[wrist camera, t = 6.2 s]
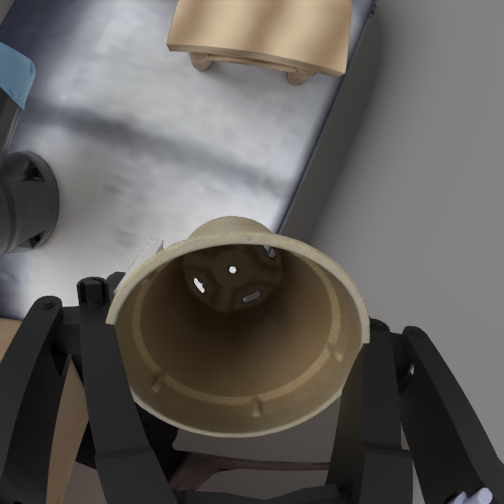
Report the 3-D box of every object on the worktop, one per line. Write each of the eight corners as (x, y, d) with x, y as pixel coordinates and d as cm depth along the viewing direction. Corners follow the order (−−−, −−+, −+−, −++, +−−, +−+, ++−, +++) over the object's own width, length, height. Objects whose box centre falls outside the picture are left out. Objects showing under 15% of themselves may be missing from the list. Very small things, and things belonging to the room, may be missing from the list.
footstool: (183, 75, 30) (166, 44, 19) (207, -20, 25) (203, -69, 14) (309, 94, 33) (345, 73, 21) (321, -1, 27) (353, -40, 16)
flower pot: (247, 352, 20) (262, 455, 12) (128, 283, 17) (75, 378, 9) (338, 249, 18) (413, 327, 10) (212, 154, 15) (198, 162, 7)
